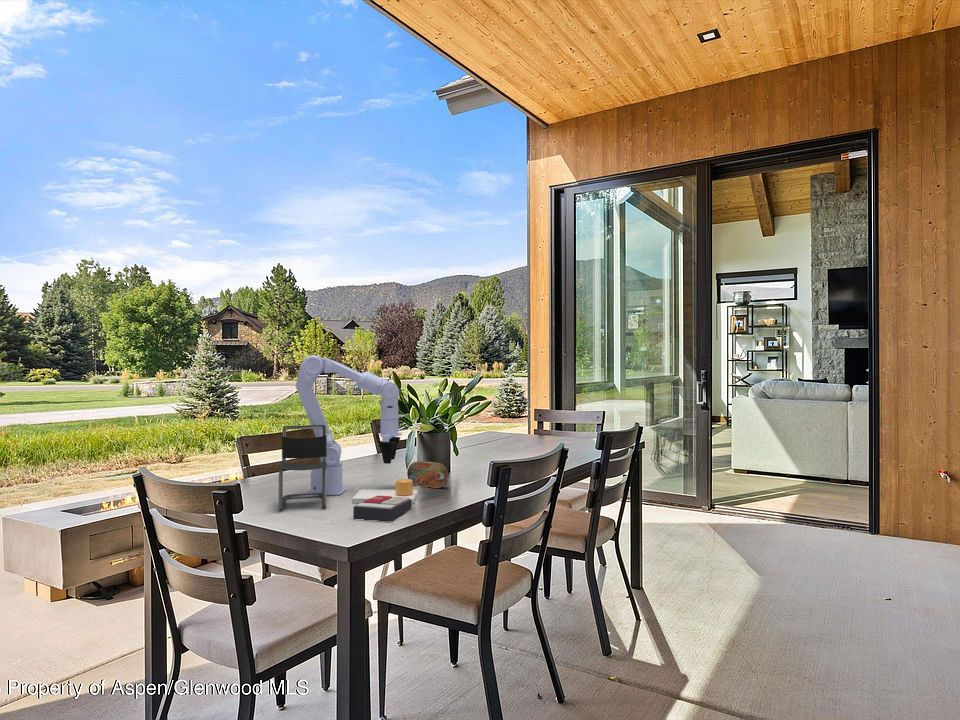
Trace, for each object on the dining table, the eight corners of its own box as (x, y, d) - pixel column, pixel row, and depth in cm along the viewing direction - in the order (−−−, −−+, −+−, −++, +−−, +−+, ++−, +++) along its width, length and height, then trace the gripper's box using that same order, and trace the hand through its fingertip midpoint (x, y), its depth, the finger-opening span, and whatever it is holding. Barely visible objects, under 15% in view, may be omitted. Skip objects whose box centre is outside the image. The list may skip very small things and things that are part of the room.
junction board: (351, 503, 177) (351, 486, 177) (360, 494, 189) (360, 478, 189) (412, 504, 177) (412, 487, 177) (417, 494, 189) (417, 478, 189)
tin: (406, 485, 203) (406, 460, 203) (411, 483, 206) (412, 459, 206) (444, 490, 196) (444, 464, 196) (449, 488, 199) (449, 462, 199)
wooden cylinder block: (394, 495, 180) (394, 482, 180) (397, 491, 185) (397, 478, 185) (411, 495, 180) (411, 482, 180) (413, 491, 185) (413, 478, 185)
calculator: (412, 496, 172) (391, 506, 157) (411, 511, 172) (390, 523, 157) (376, 494, 175) (352, 503, 160) (376, 509, 175) (352, 520, 160)
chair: (326, 495, 187) (326, 424, 186) (326, 509, 170) (326, 432, 169) (282, 497, 183) (282, 425, 183) (278, 512, 167) (278, 433, 166)
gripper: (398, 421, 188) (398, 465, 188) (404, 417, 202) (404, 457, 202) (375, 421, 188) (375, 465, 188) (384, 417, 202) (383, 457, 202)
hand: (389, 461), depth 195 cm, fingers open, 7 cm apart
